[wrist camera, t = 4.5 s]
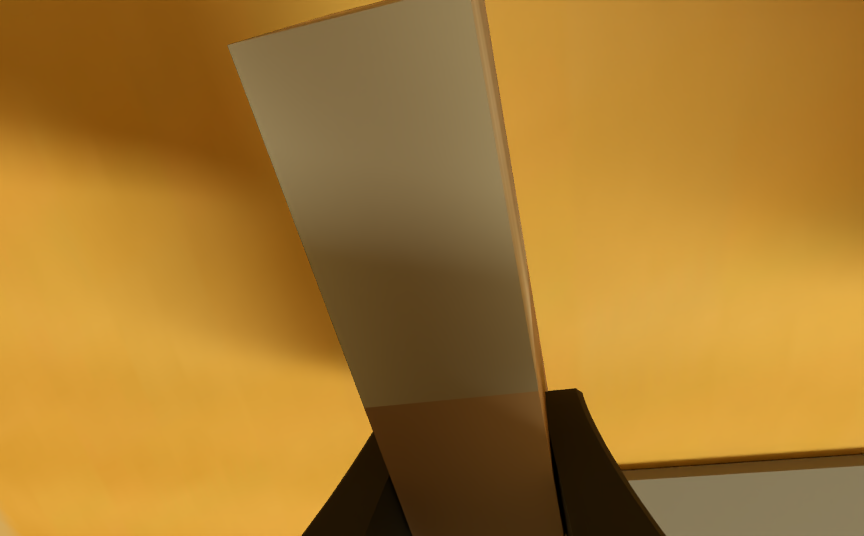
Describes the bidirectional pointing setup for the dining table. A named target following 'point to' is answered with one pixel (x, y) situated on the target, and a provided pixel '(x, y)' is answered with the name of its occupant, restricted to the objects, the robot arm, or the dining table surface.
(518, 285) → the two-tone flat stick
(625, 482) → the robot arm
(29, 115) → the dining table surface
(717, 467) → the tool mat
